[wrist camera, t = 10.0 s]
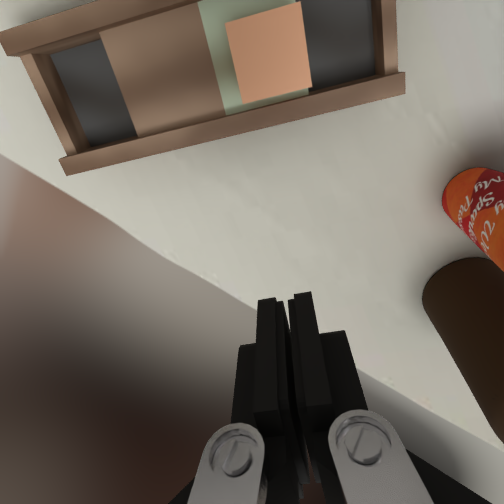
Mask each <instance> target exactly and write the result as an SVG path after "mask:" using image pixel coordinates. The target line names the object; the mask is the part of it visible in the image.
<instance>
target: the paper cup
mask: <svg viewBox="0 0 504 504" xmlns="http://www.w3.org/2000/svg"><path fill="white" fill-rule="evenodd" d="M442 206H443V209H444V211H445V212H446V214H447V215H448V216H449V217H450V218H451V219H452V221H453V222H454V223H455V224H456V225H457V226H458V227H459V228H460V229H461V230H462V231H463V232H464V233H465V234H466V235H467V236H468V237H469V238H470V239H471V240H472V241H473V242H474V243H475V244H476V245H477V246H478V247H479V248H480V249H481V250H482V251H483V252H484V253H485V254H486V255H487V256H488V257H489V258H490V259H491V260H492V261H493V262H494V263H495V264H496V265H497V266H498V267H499V268H500V269H501V270H502V271H503V272H504V173H502V172H499V171H495V170H492V169H488V168H480V167H478V168H471V169H468V170H465V171H463V172H461V173H459V174H458V175H457V176H455V177H454V178H453V179H452V180H451V181H450V182H449V183H448V185H447V186H446V188H445V190H444V193H443V196H442Z"/></svg>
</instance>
